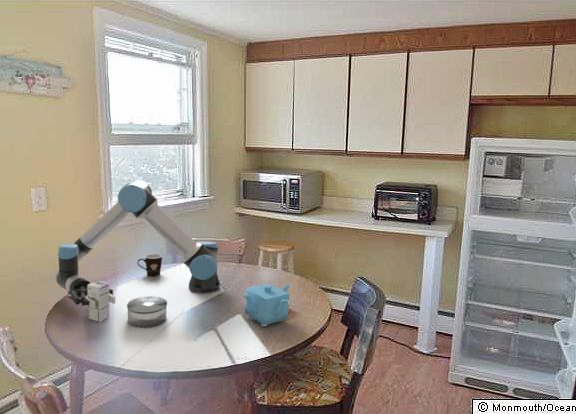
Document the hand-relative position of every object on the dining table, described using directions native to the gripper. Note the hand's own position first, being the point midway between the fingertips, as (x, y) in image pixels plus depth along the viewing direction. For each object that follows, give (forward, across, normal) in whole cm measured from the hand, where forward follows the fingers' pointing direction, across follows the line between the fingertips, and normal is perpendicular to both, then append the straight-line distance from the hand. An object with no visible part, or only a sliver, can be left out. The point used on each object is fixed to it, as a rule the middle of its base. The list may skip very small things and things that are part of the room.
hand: (104, 302), depth 159 cm
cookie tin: (+8, -13, -8) cm, 18 cm away
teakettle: (+41, -49, -8) cm, 64 cm away
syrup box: (-5, 0, -8) cm, 10 cm away
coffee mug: (-38, -43, -8) cm, 58 cm away
